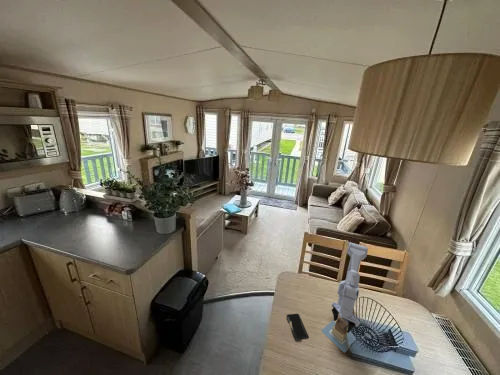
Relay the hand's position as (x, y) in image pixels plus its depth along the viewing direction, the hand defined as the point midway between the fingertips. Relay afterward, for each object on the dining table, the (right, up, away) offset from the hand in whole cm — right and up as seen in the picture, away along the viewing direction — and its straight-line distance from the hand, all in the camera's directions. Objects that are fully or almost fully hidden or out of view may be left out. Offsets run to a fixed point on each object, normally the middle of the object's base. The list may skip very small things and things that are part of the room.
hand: (341, 325), depth 113 cm
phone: (-23, -4, +5) cm, 24 cm away
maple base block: (0, -6, +2) cm, 6 cm away
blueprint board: (0, -6, +2) cm, 7 cm away
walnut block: (0, -2, 0) cm, 2 cm away
